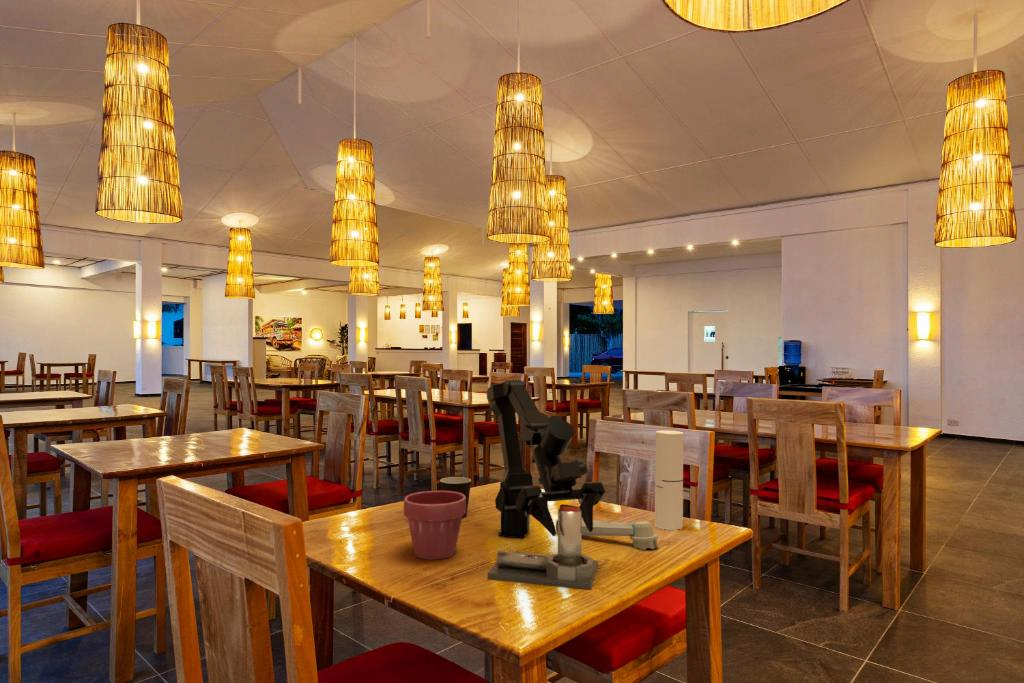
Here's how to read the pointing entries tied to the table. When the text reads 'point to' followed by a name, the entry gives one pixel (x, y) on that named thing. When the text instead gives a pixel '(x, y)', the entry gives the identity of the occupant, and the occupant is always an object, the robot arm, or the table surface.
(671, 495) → the cylindrical container
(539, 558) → the metal plate with ring
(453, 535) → the plant pot
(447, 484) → the coffee mug
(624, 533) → the grey long bar
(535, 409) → the robot arm
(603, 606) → the table surface
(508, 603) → the table surface
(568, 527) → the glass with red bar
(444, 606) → the table surface
